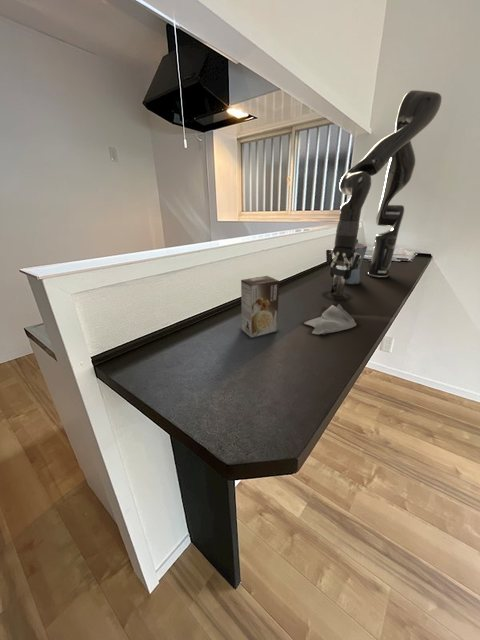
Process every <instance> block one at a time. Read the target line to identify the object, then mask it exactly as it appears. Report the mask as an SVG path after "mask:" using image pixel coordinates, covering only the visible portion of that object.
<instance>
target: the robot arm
mask: <svg viewBox="0 0 480 640" xmlns="http://www.w3.org/2000/svg"><path fill="white" fill-rule="evenodd" d="M442 99H443V97H442V95H441V93H439V92H436V91H430V90H429V91H427V90H418V89H414V90H409V91H408V92H406V94H405V95H404V96H403V98H402V100H401V103H400V105H399V107H398V111H397V115H396V120H395V128H394V129H395V130H394V132H392V133H391V134H388V135H387V136H385V137H383V138H382V139H380V140H379V141H378V142H376V143H375V144H374V145H373V147H372V148H371V149H370V150H369V151H368V152H367V153H366V154H365V156H364V157H363V158H362V159H361V160H360V161H358V162H357V163H356V164H354V165H353V166H352V167H351V168H350V169H348V170H347V171H346V172H345V173H344V174H343V176H342V177H341V179H340V182H339V191H340V192H341V193H342V194H343V195H346V196H350V197H349V199H348V201H347V202H346V201H345V202H344V203H342V204H341V206H340V209H339V215H338V216H339V217H338V221H337V226H336V231H335V238H334V247H333V249H332V248H329V249H326V251H325V255H326V256H325V257H326V265H327V266H329V267H330V271H329V276H330V277H332V278H333V276H334V275H333V274H331V270H332V267H335V266H338V263H340V261H341V262H342V263H344V262H345V265H346V269H347V270H346V273H345V280H348V279H349V278H350V277H351V271H352V270H354V269H357V268H358V265H359V263H360V260H361V258H362V254H358V253H356V252H355V246H356V241H357V239H358V234H359V230H360V219H361V215H362V214H361V213H362V209H363V206H364V204H365V202H366V199H367V197H368V195H369V192H370V190H371V187H372V176H375V175H377V174H378V173H380V171H381V170H382V169H383V168H384V167H385V166H386V165H387V163H388V165H387V170H386V174H385V179H384V180H385V181H384V186H383V190H382V195H381V199H380V202H379V205H378V210H377V213H376V217H375V224H376V225H377V226H379V227H380V226H381V227H391V228H390V229H388V230H387V231H386V230H385V231H384V232H381V233H377V234H376V235H375V237H374V244H373V248H372V253H371V257H370V259H368V262H369V266H368V271H367V276H369V277H372V278H375V279H376V278H377V279H386V278H388V277H389V272H390V269H391V264H392V260H393V256H394V252H395V248H396V245H397V240H398V236H399V231H400V228H401V224H402V221H403V218H404V215H405V206H404V205H402V204H390V202H391V201H392V200H393V199H394V197H396V195H398V193H400V191H402V190H403V189H404V188H405V187H406V185H408V183H409V182H410V181H411V179H412V176H413V174H414V170H415V166H416V155H415V151H414V148H413V144H412V140H413V139H414V138H415V137H416V136H418V134H420V133H421V132H422V131H423V130H425V129H426V127H427V126H429V124H431V122H432V121H433V120H434V119H435V117H436V116H437V114H438V112H439V111H440V108H441V105H442ZM333 255H334V256H333ZM353 256H354V259H355V260H354V262H353V265H352V257H353Z"/></svg>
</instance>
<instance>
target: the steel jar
mask: <svg viewBox="0 0 480 640" xmlns="http://www.w3.org/2000/svg"><path fill="white" fill-rule="evenodd" d="M346 270H347V269H346V267H344V265H338V264H337V265H336V266H335V267H332V270H331V269H330V271H331V274H333V275H334V276H333V277H332V282H331V283H332V284H331V289H330V295H332V296H335V297H343V296H344V292H345V288H346V283H345V282H346V280H345V273H346Z"/></svg>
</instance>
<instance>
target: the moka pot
mask: <svg viewBox="0 0 480 640" xmlns="http://www.w3.org/2000/svg"><path fill="white" fill-rule="evenodd" d="M367 250H368V246H367V245H365V244H363V243H359V239H358V238H357V241H356V246H355V252H356V253H358V254H362V258H361V260H360V263H359V265H358V268H357V269H354V270H352V271H351V277H350V278H349V279H348V280H346V282H345V284H347V285H358V284H360V281H361V280H360V279H361V265H362V264H363V261H364V259H365V255H366V252H367ZM354 260H355V259H354V256H353V257H352V265H353V262H354ZM343 266H344V267H346V265H345V262H343Z"/></svg>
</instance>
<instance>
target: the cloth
mask: <svg viewBox="0 0 480 640" xmlns="http://www.w3.org/2000/svg"><path fill="white" fill-rule="evenodd" d="M343 308H344V307H342V306H341V304H340V303H338V304H337V305H334V304H331V305H330V306H329V307H328V308H327V309H326V310H324V311H323V312H322V313H321V315H320V316H319V317H316V318H312V319H310V320H307V321H305V322H304V323H303V324H304V325H306V326H309V327H312V328H314V329H313V330H312V331H311V334H313V335H318V336H319V335H323V336H324V335H329V334H332V333H336V332H341V331H345V330H349V329H352V328H354V327H356V326H357V322H355V319H354V318H353V317H352V316H351V315H350V314H349V313H348V312H347V311H346V310H345V309H343Z"/></svg>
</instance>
